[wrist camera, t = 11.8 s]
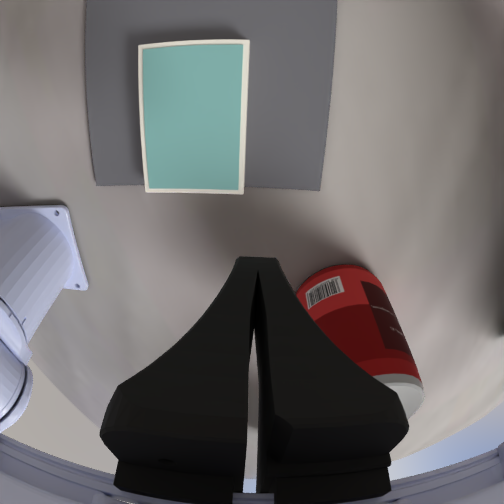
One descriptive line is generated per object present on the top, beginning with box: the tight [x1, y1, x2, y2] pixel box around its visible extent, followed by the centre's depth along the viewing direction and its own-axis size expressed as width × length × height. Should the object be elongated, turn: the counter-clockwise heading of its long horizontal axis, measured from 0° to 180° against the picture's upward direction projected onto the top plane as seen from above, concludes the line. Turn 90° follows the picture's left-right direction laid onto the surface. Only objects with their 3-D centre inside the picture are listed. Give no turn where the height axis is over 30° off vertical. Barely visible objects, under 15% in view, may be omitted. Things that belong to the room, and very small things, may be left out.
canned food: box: [296, 265, 425, 420], centre depth 21 cm, size 8×8×11 cm
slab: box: [138, 39, 250, 194], centre depth 17 cm, size 9×2×6 cm
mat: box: [85, 0, 337, 191], centre depth 16 cm, size 15×14×1 cm
